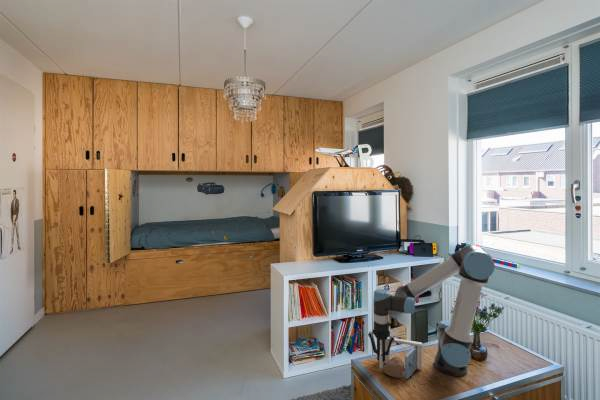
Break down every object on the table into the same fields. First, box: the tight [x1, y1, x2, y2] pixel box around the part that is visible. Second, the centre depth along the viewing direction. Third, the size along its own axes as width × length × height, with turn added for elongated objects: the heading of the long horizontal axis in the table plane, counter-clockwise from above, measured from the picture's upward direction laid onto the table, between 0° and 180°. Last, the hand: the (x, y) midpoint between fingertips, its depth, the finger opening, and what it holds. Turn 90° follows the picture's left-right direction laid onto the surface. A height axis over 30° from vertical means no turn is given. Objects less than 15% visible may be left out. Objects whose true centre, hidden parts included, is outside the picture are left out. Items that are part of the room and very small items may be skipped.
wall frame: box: [380, 337, 423, 371], centre depth 159 cm, size 20×2×13 cm, turn 68°
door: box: [404, 345, 418, 380], centre depth 151 cm, size 13×3×12 cm, turn 137°
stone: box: [382, 356, 405, 379], centre depth 152 cm, size 12×9×10 cm
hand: (381, 366), depth 155 cm, fingers closed
